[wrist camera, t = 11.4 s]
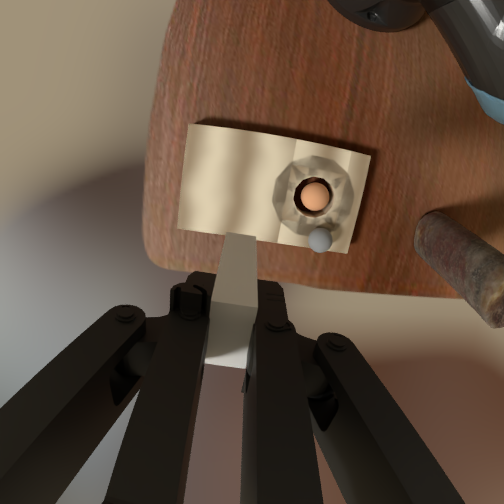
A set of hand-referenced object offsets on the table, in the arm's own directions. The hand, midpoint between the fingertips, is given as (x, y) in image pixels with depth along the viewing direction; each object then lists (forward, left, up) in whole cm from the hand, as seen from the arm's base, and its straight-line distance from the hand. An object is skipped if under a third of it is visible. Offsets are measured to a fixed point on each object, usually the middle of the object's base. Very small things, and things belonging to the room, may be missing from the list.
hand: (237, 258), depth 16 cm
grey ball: (+10, +4, -21) cm, 23 cm away
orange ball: (+6, +6, -23) cm, 24 cm away
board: (+3, +2, -25) cm, 25 cm away
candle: (+21, +20, -25) cm, 38 cm away
